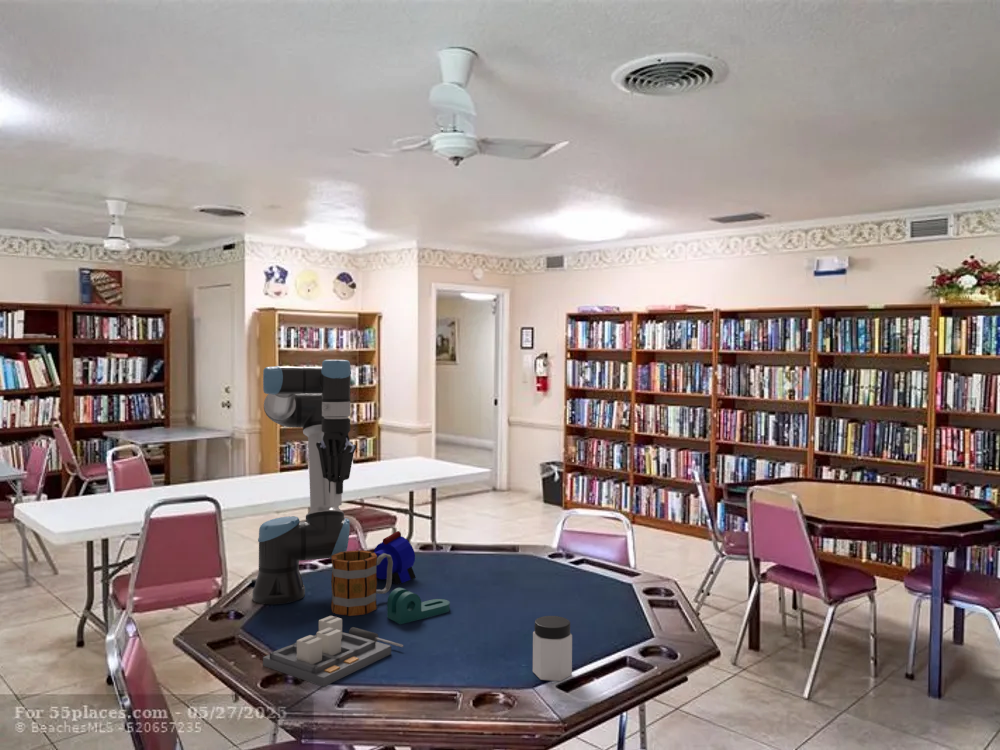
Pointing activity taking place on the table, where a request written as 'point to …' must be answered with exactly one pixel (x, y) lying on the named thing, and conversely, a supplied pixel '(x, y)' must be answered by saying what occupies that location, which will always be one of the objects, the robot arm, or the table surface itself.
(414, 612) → the bracket
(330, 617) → the small white box
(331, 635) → the white grooved block
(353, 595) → the mug
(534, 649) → the jar
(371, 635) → the screwdriver
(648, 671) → the table surface
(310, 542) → the robot arm
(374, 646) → the switch bank
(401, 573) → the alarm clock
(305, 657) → the small white box
